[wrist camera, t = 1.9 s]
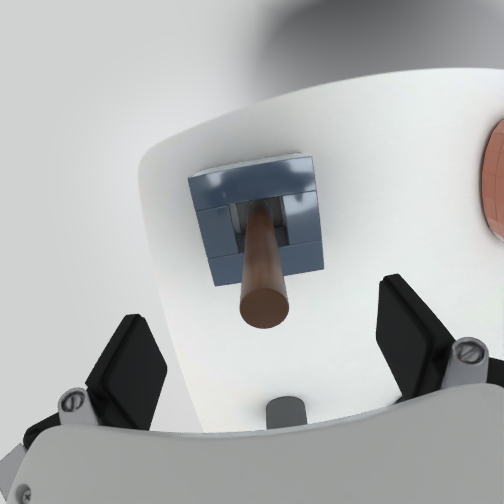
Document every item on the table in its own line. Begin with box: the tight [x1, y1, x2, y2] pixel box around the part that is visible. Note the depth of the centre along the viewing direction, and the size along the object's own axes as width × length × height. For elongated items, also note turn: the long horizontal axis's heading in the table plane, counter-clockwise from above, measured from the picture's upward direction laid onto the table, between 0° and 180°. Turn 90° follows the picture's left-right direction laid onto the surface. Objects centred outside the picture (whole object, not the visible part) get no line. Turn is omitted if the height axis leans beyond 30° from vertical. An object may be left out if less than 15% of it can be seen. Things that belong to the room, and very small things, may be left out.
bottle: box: [266, 397, 307, 430], centre depth 31 cm, size 6×6×15 cm
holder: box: [188, 152, 324, 286], centre depth 24 cm, size 9×9×5 cm
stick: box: [240, 199, 289, 329], centre depth 19 cm, size 2×2×16 cm
